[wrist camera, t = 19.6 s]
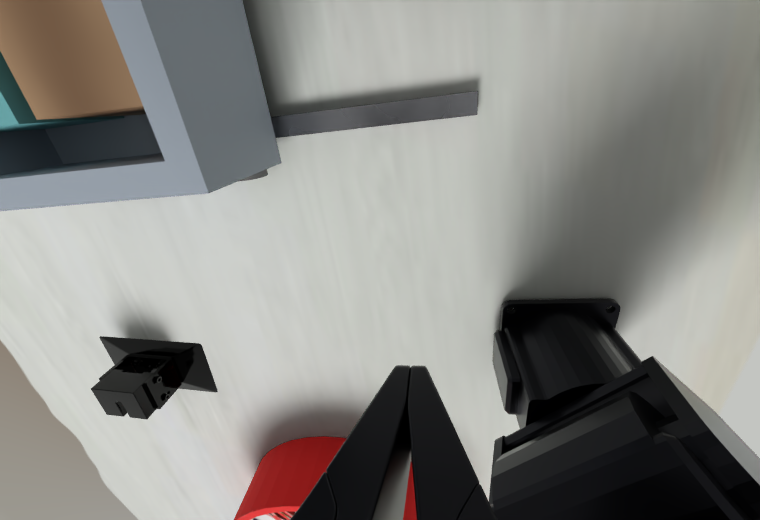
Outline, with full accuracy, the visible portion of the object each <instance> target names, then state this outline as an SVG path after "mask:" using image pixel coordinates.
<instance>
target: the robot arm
mask: <svg viewBox="0 0 760 520" xmlns="http://www.w3.org/2000/svg"><path fill="white" fill-rule="evenodd" d="M609 306H612V307H611V308H609V309H606V308H607V307H609ZM510 307H513V308H514V309H512V310H507V309H508V308H510ZM619 312H620V306H619V304H618V303H617V302H616V301H615V300H613V299H555V300H509V301H506V302H504V303H503V304H502V307H501V321H500V330H497V331H496V332H495V333H494V345H493V365H494V369H495V373H496V377H497V381H498V385H499V390H500V394H501V398H502V402H503V406H504V410H505V411H506V412H507V413H508V414H516V416H517V420H518V423H519V427H520V430H518V431H516V432H514V433H512V434H510V435H508V436H507V437H505V436H502V437H500V438H498V439H496V440H495V444H494V455H493V465H492V475H491V485H490V496H489V502H488V500H487V497H486V495H485V493H484V491H483V489H482V487H481V485H480V484H479V480H478V478H477V476H476V474H475V472H474V470H473V467H472V465H471V463H470V461H469V459H468V457H467V454H466V452H465V450H464V448H463V446H462V443H461V441H460V439H459V437H458V435H457V433H456V430H455V428H454V426H453V424H452V422H451V420H450V417H449V415H448V413H447V411H446V409H445V407H444V404H443V402H442V400H441V398H440V396H439V394H438V391H437V389H436V387H435V385H434V383H433V381H432V378H431V376H430V374H429V372H428V370H427V368H426V367H425V366H412V367H411V368H410V366H403V365H397V366H395V368H394V369H393V370H392V372H391V373H390V375H389V376H388V378H387V379H386V381H385V382H384V384H383V385H382V387H381V388H380V390H379V391H378V393H377V394H376V396H375V397H374V399H373V400H372V402H371V403H370V405H369V406H368V408H367V409H366V411H365V412H364V413H363V415H362V416H361V418H360V419H359V421H358V422H357V424H356V425H355V427H354V428H353V430H352V431H351V433H350V434H349V436H348V437H347V439H346V440H345V442H344V443H343V445H342V446H341V448H340V449H339V451H338V452H337V454H336V455H335V457H334V458H333V460H332V461H331V463H330V464H329V466H328V467H327V469H326V472H327V473H326V472H324V473H323V474H322V476H321V477H320V479H319V480H318V482H317V483H316V485H315V486H314V488H313V489H312V490H311V492H310V493H309V495H308V496H307V497H306V499H305V500H304V502H303V503H302V504H301V506H300V507H299V509H298V510H297V511H296V513H295V514H294V515H293V516H292V518H291V519H290V520H403V515H404V508H405V500H406V493H407V485H408V478H409V470H410V462H411V457H412V469H413V481H414V493H415V504H416V516H417V520H760V458H759V457H758V456H757V455H756V454H755V453H754V452H753V451H752V450H751V449H750V448H749V447H748V446H747V445H746V444H745V443H744V441H743V440H742V439H741V438H740V437H739V436H738V435H737V434H736V433H735V432H734V431H733V430H732V429H731V428H730V427H729V426H728V425H727V424H726V423H725V422H724V421H723V420H722V419H721V417H720V416H719V415H718V414H717V413H716V412H715V411H714V410H713V409H711V408H710V407H709V406H708V405H707V404H706V403H705V402H704V401H702V400H701V399H700V398H699V397H698V396H697V395H696V394H695V393H693V392H692V391H691V390H690V389H689V388H688V387H687V386H686V385H685V384H683V383H682V382H681V381H680V380H679V379H678V378H677V377H676V376H674V375H673V374H672V373H671V372H670V371H669V370H668V369H667V368H665V367H664V366H663V365H662V364H661V363H660V362H659V361H658V360H657V359H655V358H654V357H653V356H652V357H650V358H648V359H646V360H644V361H641V360H640V359H639V358H638V356H637V355H636V354H635V353H634V352H633V350H632V349H631V348H630V347H629V345H628V344H627V343H626V342H625V341H624V339H623V338H622V337H621V336H620V334H619V333H618V332H617V331H616V330H615V327H616V323H617V320H618V316H619Z"/></svg>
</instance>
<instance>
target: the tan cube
mask: <svg viewBox="0 0 760 520" xmlns="http://www.w3.org/2000/svg"><path fill="white" fill-rule="evenodd" d="M0 51H1V53H2V55H3V57H4V59H5V61H6V63H7V65H8V66H9V68H10V70H11V72H12V74H13V76H14V78H15V80H16V82H17V83H18V85H19V87H20V89H21V91H22V93H23V95H24V97H25V99H26V100H27V102H28V104H29V106H30V108H31V110H32V112H33V114H34V115H35V117H36V119H37V120H41V119H62V118H83V117H104V116H126V115H142V114H146V112H145V109H144V107H143V104H142V102H141V99H140V97H139V94H138V92H137V89H136V87H135V84H134V82H133V79H132V77H131V74H130V72H129V69H128V66H127V64H126V61H125V59H124V56H123V54H122V51H121V49H120V46H119V44H118V41H117V39H116V36H115V34H114V31H113V29H112V26H111V24H110V21H109V19H108V16H107V13H106V11H105V8H104V6H103V3H102V1H101V0H0Z"/></svg>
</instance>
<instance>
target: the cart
mask: <svg viewBox="0 0 760 520" xmlns="http://www.w3.org/2000/svg"><path fill="white" fill-rule="evenodd" d="M101 1H102V3H103V6H104V8H105V11H106V13H107V16H108V19H109V21H110V24H111V26H112V29H113V31H114V34H115V36H116V39H117V41H118V44H119V46H120V49H121V51H122V54H123V56H124V59H125V61H126V64H127V66H128V69H129V72H130V74H131V77H132V79H133V82H134V84H135V87H136V89H137V92H138V94H139V97H140V99H141V102H142V104H143V107H144V109H145V112H146V114H142V115H126V116H124V118H122V119H115V120H108V121H101V122H93V123H86V124H79V125H72V126H65V127H58V128H51V129H37V130H23V131H9V132H0V211H7V210H19V209H30V208H42V207H54V206H66V205H77V204H89V203H101V202H112V201H124V200H136V199H148V198H159V197H171V196H183V195H195V194H206V193H211V192H213V191H215V190H218V189H220V188H222V187H225V186H227V185H230V184H232V183H234V182H237V181H245V180H252V179H257V178H261V177H264V176H266V175H268V173H267V169H268V168H270V167H273V166H275V165H277V164H280V163H281V159H280V154H279V150H278V146H277V142H276V138H275V134H274V130H273V125H272V121H271V117H270V113H269V109H268V105H267V100H266V96H265V92H264V88H263V84H262V80H261V76H260V71H259V67H258V63H257V59H256V55H255V51H254V47H253V42H252V38H251V34H250V30H249V26H248V22H247V17H246V13H245V9H244V5H243V1H242V0H101Z"/></svg>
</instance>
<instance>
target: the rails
mask: <svg viewBox="0 0 760 520" xmlns="http://www.w3.org/2000/svg"><path fill="white" fill-rule="evenodd" d="M477 103H478V91H473V92H465V93H458V94H450V95H442V96H434V97H426V98H418V99H410V100H403V101H395V102H387V103H379V104H371V105H363V106H355V107H347V108H340V109H332V110H324V111H316V112H308V113H300V114H292V115H285V116H277V117H271V121H272V125H273V130H274V134H275V138H278V137H287V136H296V135H304V134H313V133H322V132H331V131H339V130H348V129H357V128H366V127H374V126H383V125H392V124H400V123H409V122H418V121H427V120H435V119H444V118H453V117H462V116H470V115H477Z"/></svg>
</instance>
